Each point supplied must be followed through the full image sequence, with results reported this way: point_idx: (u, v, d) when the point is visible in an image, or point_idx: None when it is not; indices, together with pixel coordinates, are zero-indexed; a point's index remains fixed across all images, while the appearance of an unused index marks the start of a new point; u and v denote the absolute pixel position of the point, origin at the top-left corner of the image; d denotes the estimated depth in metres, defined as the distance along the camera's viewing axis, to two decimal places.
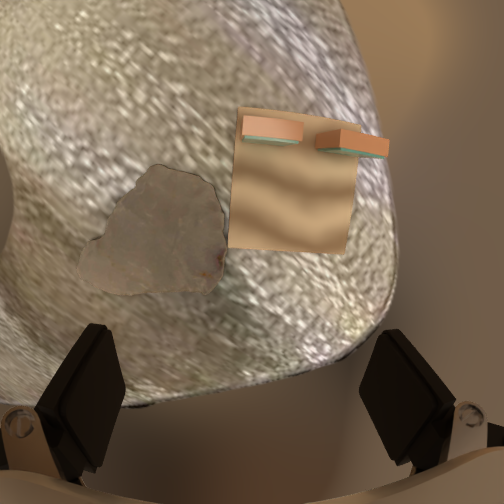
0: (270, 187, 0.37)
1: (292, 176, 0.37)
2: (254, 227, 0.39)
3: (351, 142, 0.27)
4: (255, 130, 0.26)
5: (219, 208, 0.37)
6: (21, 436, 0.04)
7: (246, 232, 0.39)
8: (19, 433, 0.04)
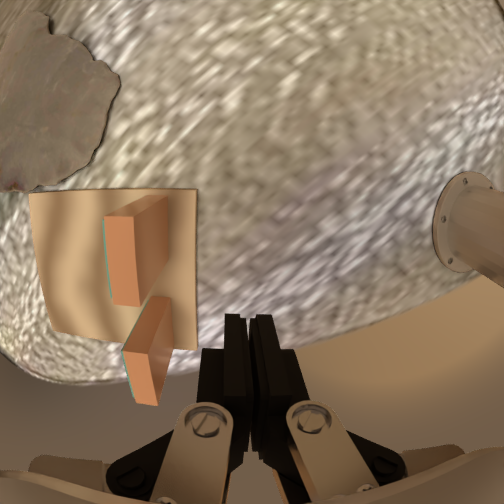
0: (93, 241, 0.25)
1: None
2: (50, 224, 0.24)
3: (134, 365, 0.19)
4: (113, 236, 0.16)
5: (61, 177, 0.22)
6: (198, 432, 0.05)
7: (44, 215, 0.24)
8: (197, 428, 0.05)
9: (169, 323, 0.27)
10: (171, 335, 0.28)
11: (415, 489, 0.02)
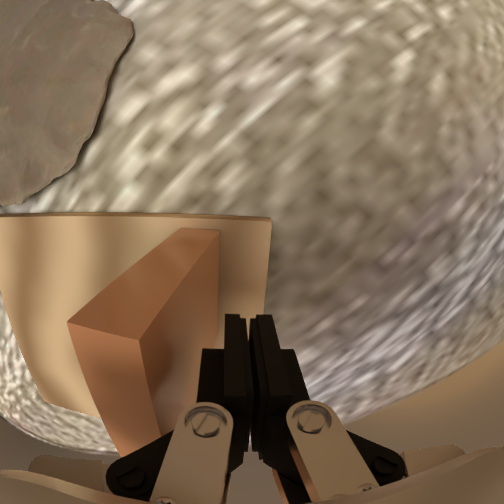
0: (89, 299, 0.15)
1: None
2: (20, 268, 0.14)
3: None
4: (95, 368, 0.06)
5: (29, 191, 0.12)
6: (198, 432, 0.05)
7: (10, 252, 0.13)
8: (197, 428, 0.05)
9: None
10: None
11: (415, 489, 0.02)
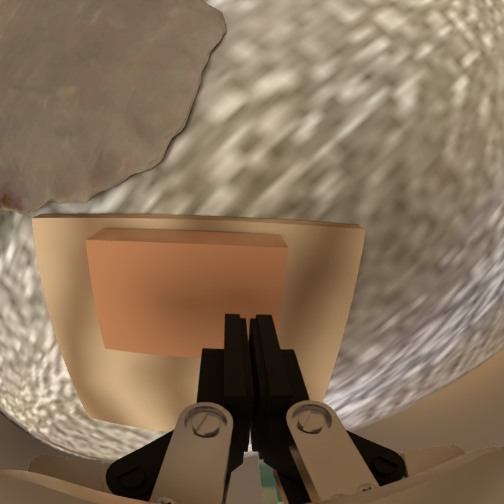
0: None
1: None
2: (77, 276, 0.14)
3: None
4: None
5: (100, 188, 0.12)
6: (198, 432, 0.05)
7: (64, 258, 0.14)
8: (197, 428, 0.05)
9: None
10: None
11: (415, 489, 0.02)
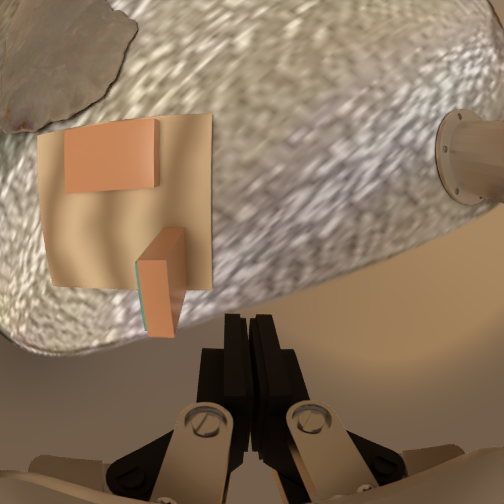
0: None
1: (121, 201, 0.25)
2: (58, 163, 0.23)
3: (149, 279, 0.18)
4: None
5: (74, 110, 0.21)
6: (198, 432, 0.05)
7: (53, 154, 0.22)
8: (197, 428, 0.05)
9: (183, 254, 0.26)
10: (185, 270, 0.27)
11: (415, 489, 0.02)
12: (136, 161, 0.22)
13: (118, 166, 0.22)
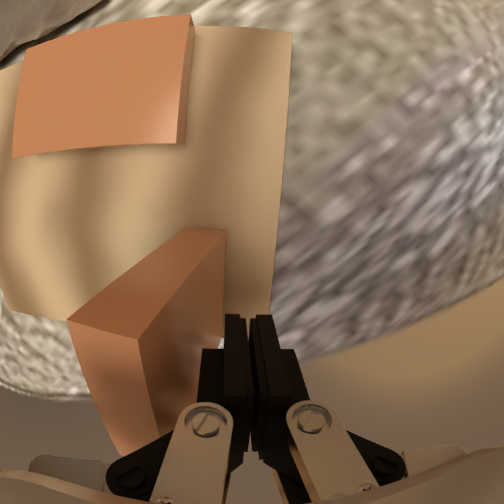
0: None
1: (109, 173, 0.13)
2: None
3: (101, 371, 0.06)
4: None
5: (51, 24, 0.09)
6: (198, 432, 0.05)
7: (10, 97, 0.10)
8: (197, 428, 0.05)
9: (218, 284, 0.13)
10: (219, 312, 0.14)
11: (415, 489, 0.02)
12: (144, 89, 0.10)
13: (106, 100, 0.09)
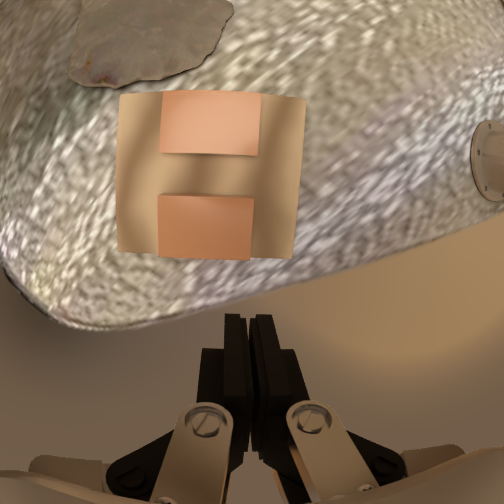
0: None
1: (214, 167, 0.27)
2: (145, 124, 0.25)
3: None
4: None
5: (168, 73, 0.23)
6: (198, 433, 0.05)
7: (138, 114, 0.25)
8: (197, 428, 0.05)
9: (238, 222, 0.27)
10: (241, 240, 0.27)
11: (415, 489, 0.02)
12: (241, 129, 0.24)
13: (222, 131, 0.24)
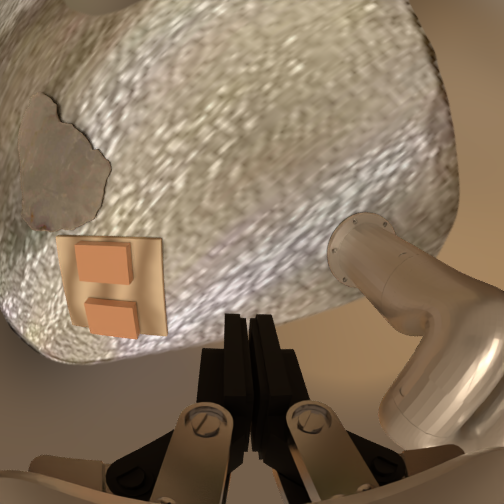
0: None
1: (112, 284, 0.42)
2: (72, 257, 0.40)
3: None
4: None
5: (77, 226, 0.38)
6: (198, 432, 0.05)
7: (67, 251, 0.40)
8: (197, 428, 0.05)
9: (126, 319, 0.42)
10: (130, 328, 0.42)
11: (415, 489, 0.02)
12: (118, 270, 0.39)
13: (108, 271, 0.39)
